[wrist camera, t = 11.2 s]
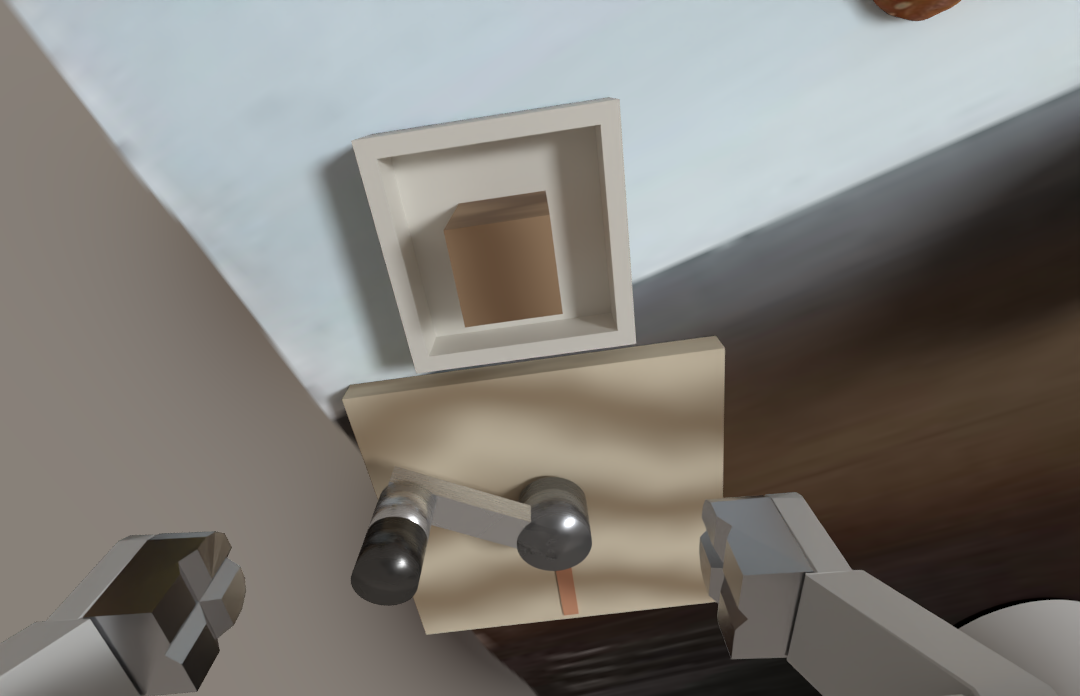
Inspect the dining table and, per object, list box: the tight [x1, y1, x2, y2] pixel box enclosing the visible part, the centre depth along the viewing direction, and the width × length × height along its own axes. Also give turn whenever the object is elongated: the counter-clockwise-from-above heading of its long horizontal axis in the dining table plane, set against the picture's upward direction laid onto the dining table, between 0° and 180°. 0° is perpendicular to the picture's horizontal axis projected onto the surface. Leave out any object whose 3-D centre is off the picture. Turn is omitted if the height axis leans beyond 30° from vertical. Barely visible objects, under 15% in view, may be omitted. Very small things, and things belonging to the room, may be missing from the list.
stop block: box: [443, 191, 563, 327], centre depth 23 cm, size 4×4×5 cm
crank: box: [351, 466, 592, 606], centre depth 27 cm, size 11×4×8 cm, turn 68°
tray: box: [352, 97, 636, 373], centre depth 25 cm, size 11×11×3 cm
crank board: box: [342, 336, 725, 634], centre depth 32 cm, size 19×20×2 cm
